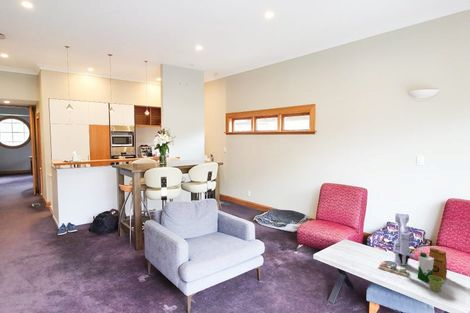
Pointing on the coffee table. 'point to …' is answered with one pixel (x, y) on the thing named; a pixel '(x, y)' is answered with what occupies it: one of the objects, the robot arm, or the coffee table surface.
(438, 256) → the coffee package
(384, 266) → the button terracotta
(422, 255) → the milk carton
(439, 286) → the plant pot
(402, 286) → the coffee table surface
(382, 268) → the button panel
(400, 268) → the button sage
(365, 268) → the coffee table surface
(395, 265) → the button grey
